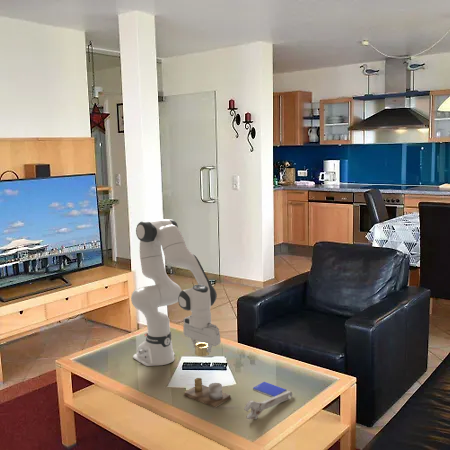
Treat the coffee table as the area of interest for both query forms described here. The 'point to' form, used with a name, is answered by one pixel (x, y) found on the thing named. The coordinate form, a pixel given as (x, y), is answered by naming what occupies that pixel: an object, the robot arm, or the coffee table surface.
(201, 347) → the ring
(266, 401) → the wrench
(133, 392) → the coffee table surface
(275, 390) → the hard drive
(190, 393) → the stub board
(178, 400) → the coffee table surface
